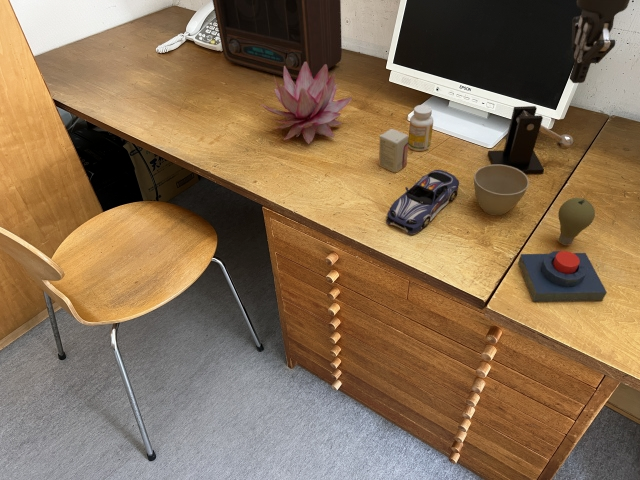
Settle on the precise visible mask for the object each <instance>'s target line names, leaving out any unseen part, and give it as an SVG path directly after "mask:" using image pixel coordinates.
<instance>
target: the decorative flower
mask: <svg viewBox="0 0 640 480" xmlns="http://www.w3.org/2000/svg"><path fill="white" fill-rule="evenodd" d="M282 77H283V84H281V83H280V84H279V83H278V81H277V79H276V77H275V76H273V79H274V85H275V86H276V88H274V93H275V95H276V98H277V101H278V102H279V103H280V105H281V106H282V107H283V108H284V109H285V111H284V110H280V109H275V108H272V107H271V108H270V107H269V106H266V105H265V104H262V103H260V105H261V107H263V108H264V109H265V110H267V111H268V112H270V113H271V114H274V115H277V116H280V117H283V118H285V119H286V120H280V119H273V118H272V121H274V122H276V123H278V124H281V125H279V126H276V127H274V129H276V130H280V129H287V128H289V127H291V129H290V130H289V131H288V133H287V134H286V136H285V137H284V138H283V141H287V140H289V139H291V138H292V137H295V136H296V138H297V137H299V136H300V135H301V134H302V136H303V139H304V140H305V142H306V143H307V144H308V145H309V144H310V143H312V141H313V140H314V138H315V135H316V134H317V135H318V136H320V137H322V135H323V136H327V137H332V138H333V137H335V134H334V132H333V130H332V129H331V126H334V127H335V126H339V125H341V124H343V122H341V121H340V120H337V119H338V118H339V117H340V116H341V115H342V113H340V112H341V111H342V110H343V109H344V108H346V107H347V105H348V104H349V103H350V102H351V101H352V100H353V97H352V96H351V97H346V98H343V99H337V100H335V96H336V93H337V90H338V89H337V87H338V84H337V83H335V80H336V79H335V78H336V72H333V73H332V75H331V76H330V72H329V69H328V68H327V64H325V65H324V66H323V67H322V68H321V70H320V71H319V72H318V74H317V75H316V76H315V78H314V79H313V77H312V74H311V71H310V69H309V66H308V64H307V62H304V64H303V66H302V68H301V70H300V72H299V75H298V78H297V79H296V81H295V82H294V81H293V78H291V77H290V75H289V73H288V71H287V69H286V67H285V66H284V73H283V76H282ZM286 110H287V111H286Z"/></svg>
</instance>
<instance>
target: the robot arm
mask: <svg viewBox="0 0 640 480" xmlns="http://www.w3.org/2000/svg"><path fill="white" fill-rule="evenodd" d="M630 1H631V0H576V6H577V8H578V9H579V10H581V13H580V14H581V15H579V16H573V18H572V21H571V52H573V53H574V54H573V59H574V62H573V65H572V68H571V72H570V75H569V80H570V82H572V83H573V84H583V83H584V82H586V79H587V75H588V73H589V69H590V66H591V64H599V63H600V62H601V61H602V60H603V58H605V57H606V56H607V55H608V54H609V53H610V52H611V51H612V49H614V48H615V46H616V39H610V33H611V31H612V30H613V27H614V23H615V22H614V21H615V16H617V14H619V13H622V12H624V11H625V10H626V9H627V8H628V6H629V4H630Z"/></svg>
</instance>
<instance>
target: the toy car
mask: <svg viewBox="0 0 640 480" xmlns="http://www.w3.org/2000/svg"><path fill="white" fill-rule="evenodd" d="M459 185H460V180H459V179H458V178H457V177H456V176H455V175H454V174H452V173H450V172H449V171H445V170H442V169H434V170H432V171H430V172H428V173H427V174H425V175H423V176H421V178H419V180H418V181H416V182H415V183H414V184H413V185H412V186H411V187H410V188H408V187H407V186H405V192H404V193H403V194H402V195H400V196H399V197H398V198H397V199H396V200H394V201H393V202H392V203H391V205H390V208H389V209H388V211H387V214H386V219H385V220H386V221H385V222H386V224H387V225H393V226H395V227H398V228H400V229H401V230H403V231H405V232H406V233H407V234H408V235H415V234H418V233H420V232H421V231H422V229H426V227H428V225H429V223H431V221H432V220H434V218H435V217H436V216H437V214H438V213H439V212H440V211H441V210H443V208H445V207H446V206H447V205H448V204H449V203H451V202H453V201H454V200H455V198H456V196H457V195H458V191H459Z"/></svg>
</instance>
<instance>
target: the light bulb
mask: <svg viewBox="0 0 640 480" xmlns="http://www.w3.org/2000/svg"><path fill="white" fill-rule="evenodd" d="M557 216H558V217H557V218H558V221H559V225H560V227H559V230H560V231H559V232H560V234H559V236H558V237H557V240H558V242H559V243H560V244H561V245H562V246H571V245H572V244H573V243H574V240H575V238H576V237H578V236H579V235H580V234H581V232H582V231H584V230H586V229H587V228H588V227H590V226H591V225H592V224H593V222H594V220H595V217H596V210H595V207H594V205H593V204H592V203H591V202H590V201H589V200H588V199H586V198H582V197H572V198H569V199H567V200H565V201H564V202H563V203H562V204H561V205H560V207H559V210H558V214H557Z"/></svg>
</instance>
